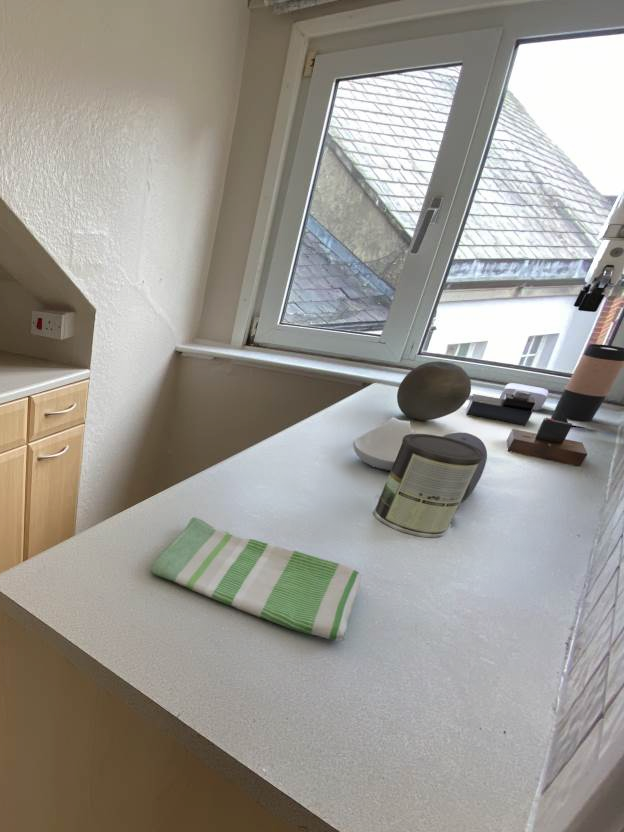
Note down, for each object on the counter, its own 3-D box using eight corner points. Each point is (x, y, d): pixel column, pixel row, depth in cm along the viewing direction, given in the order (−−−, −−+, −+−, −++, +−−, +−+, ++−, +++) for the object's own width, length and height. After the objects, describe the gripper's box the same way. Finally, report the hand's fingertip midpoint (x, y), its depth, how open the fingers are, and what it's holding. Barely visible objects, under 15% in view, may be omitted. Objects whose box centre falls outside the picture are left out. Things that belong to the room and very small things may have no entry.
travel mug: (543, 416, 148) (582, 342, 139) (580, 421, 145) (622, 346, 136) (555, 425, 142) (596, 348, 133) (594, 430, 139) (639, 352, 130)
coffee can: (358, 508, 96) (388, 434, 90) (408, 505, 98) (440, 432, 92) (408, 540, 87) (445, 459, 81) (462, 536, 89) (502, 457, 83)
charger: (543, 401, 162) (539, 411, 152) (502, 393, 167) (497, 403, 158) (551, 385, 160) (548, 395, 150) (510, 378, 165) (504, 387, 156)
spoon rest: (411, 483, 107) (426, 449, 103) (343, 465, 113) (354, 433, 110) (421, 449, 123) (434, 419, 120) (361, 435, 130) (372, 406, 126)
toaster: (523, 418, 146) (534, 396, 144) (525, 426, 140) (536, 404, 137) (466, 407, 153) (476, 386, 150) (466, 415, 147) (475, 393, 144)
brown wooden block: (575, 454, 124) (582, 441, 122) (580, 466, 117) (588, 453, 116) (506, 440, 130) (512, 428, 129) (507, 451, 124) (514, 438, 123)
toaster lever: (526, 399, 142) (530, 391, 142) (526, 401, 140) (530, 394, 140) (512, 396, 144) (515, 389, 143) (512, 399, 142) (516, 391, 141)
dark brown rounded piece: (385, 419, 141) (407, 362, 134) (392, 407, 151) (413, 353, 144) (453, 434, 133) (480, 373, 126) (456, 420, 142) (481, 363, 136)
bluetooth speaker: (419, 469, 113) (439, 423, 108) (476, 484, 107) (499, 437, 103) (393, 503, 98) (415, 453, 94) (458, 524, 93) (484, 470, 88)
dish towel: (191, 525, 89) (195, 511, 87) (358, 584, 76) (365, 567, 75) (147, 576, 76) (151, 559, 75) (339, 656, 63) (347, 637, 62)
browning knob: (561, 442, 122) (572, 422, 120) (562, 444, 121) (573, 424, 119) (534, 436, 124) (544, 417, 122) (534, 438, 123) (545, 418, 121)
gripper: (653, 235, 120) (610, 315, 128) (638, 234, 132) (600, 307, 140) (605, 233, 124) (567, 310, 132) (595, 232, 136) (560, 303, 144)
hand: (584, 309), depth 136 cm, fingers open, 9 cm apart
